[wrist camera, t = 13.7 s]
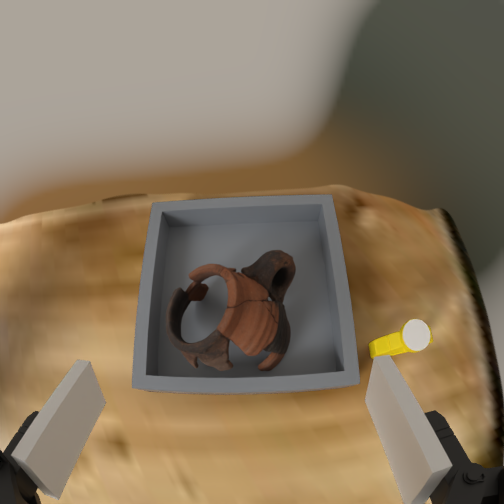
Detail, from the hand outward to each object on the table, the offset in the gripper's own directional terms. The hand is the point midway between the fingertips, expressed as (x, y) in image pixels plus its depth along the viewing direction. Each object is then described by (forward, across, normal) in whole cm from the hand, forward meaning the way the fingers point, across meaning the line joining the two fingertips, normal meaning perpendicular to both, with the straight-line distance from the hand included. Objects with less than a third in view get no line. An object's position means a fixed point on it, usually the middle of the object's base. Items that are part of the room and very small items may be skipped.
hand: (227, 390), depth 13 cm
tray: (+17, 0, -4) cm, 17 cm away
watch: (+13, +14, -8) cm, 21 cm away
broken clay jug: (+15, 0, -5) cm, 16 cm away
